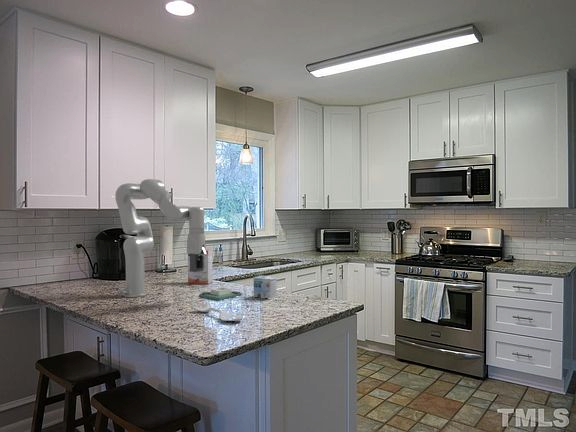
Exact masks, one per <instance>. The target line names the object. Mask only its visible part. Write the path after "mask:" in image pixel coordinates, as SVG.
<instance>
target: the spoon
mask: <svg viewBox="0 0 576 432" xmlns="http://www.w3.org/2000/svg"><path fill="white" fill-rule="evenodd" d="M189 307H190V308H191V309H193V310H195V311H198V312H201V313H208V312H211V311H213V312H217V313H218V314H219V316H218V317H219V318H218V319H220V320H221V321H223V322H226V321H235V322H239V321H241V320H243V319H244V316H242V315H236V314H231V313H229V312H225V311H223V310H220V308H215V307H211V306H210V305H209V304H208V302H205V303H203V304H201V305H191V304H190V305H189ZM229 317H237V318H236V319H232V320H226V319H225V318H229Z"/></svg>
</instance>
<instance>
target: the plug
mask: <svg viewBox="0 0 576 432" xmlns="http://www.w3.org/2000/svg"><path fill="white" fill-rule="evenodd" d="M199 254H201V253H199ZM200 256H201V255H200ZM197 260H198V258H197V255H196V254H191V253H190V271H192V272H198V271H204V258H203V268H197Z"/></svg>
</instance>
